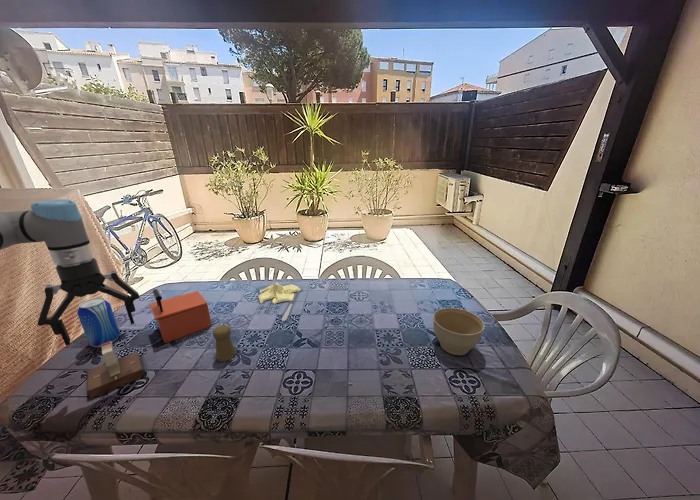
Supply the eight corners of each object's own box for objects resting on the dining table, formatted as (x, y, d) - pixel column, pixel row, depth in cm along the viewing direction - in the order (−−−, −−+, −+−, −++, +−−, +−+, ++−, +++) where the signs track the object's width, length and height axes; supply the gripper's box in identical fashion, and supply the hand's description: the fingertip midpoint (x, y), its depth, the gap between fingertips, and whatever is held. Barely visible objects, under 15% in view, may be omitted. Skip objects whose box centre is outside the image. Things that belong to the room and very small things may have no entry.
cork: (239, 352, 92) (235, 325, 88) (225, 364, 87) (220, 335, 83) (227, 347, 94) (222, 320, 90) (212, 358, 89) (206, 330, 85)
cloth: (304, 286, 137) (303, 275, 135) (292, 305, 120) (291, 293, 118) (262, 284, 140) (260, 273, 138) (244, 302, 123) (243, 290, 120)
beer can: (84, 345, 95) (69, 305, 89) (112, 332, 102) (99, 294, 97) (99, 352, 92) (83, 311, 86) (126, 337, 99) (113, 298, 94)
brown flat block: (90, 399, 74) (87, 390, 73) (90, 378, 81) (87, 370, 80) (144, 376, 82) (141, 368, 81) (140, 359, 89) (137, 351, 88)
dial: (120, 372, 79) (112, 349, 76) (110, 376, 78) (101, 353, 75) (118, 362, 83) (111, 340, 80) (109, 366, 81) (101, 343, 79)
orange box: (164, 344, 96) (158, 320, 92) (158, 328, 104) (152, 306, 101) (211, 326, 106) (207, 304, 102) (202, 313, 114) (198, 292, 111)
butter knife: (278, 320, 109) (285, 320, 108) (294, 289, 134) (300, 289, 134) (278, 321, 109) (285, 321, 109) (295, 290, 134) (301, 290, 134)
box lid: (155, 320, 92) (150, 301, 89) (149, 305, 100) (145, 288, 98) (207, 304, 102) (204, 287, 100) (198, 292, 111) (195, 276, 109)
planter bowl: (480, 340, 98) (485, 314, 95) (477, 369, 85) (482, 340, 81) (435, 327, 105) (438, 303, 102) (425, 352, 92) (428, 325, 88)
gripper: (-5, 281, 58) (34, 360, 65) (138, 253, 74) (157, 319, 81) (3, 270, 63) (38, 345, 71) (135, 247, 79) (153, 309, 86)
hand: (102, 331), depth 76 cm, fingers open, 13 cm apart
